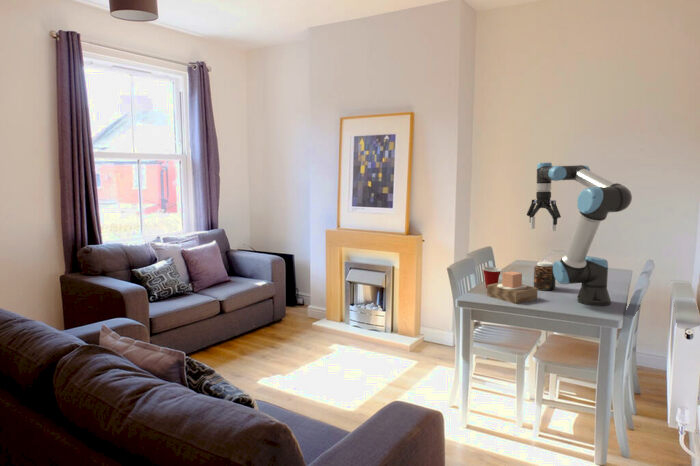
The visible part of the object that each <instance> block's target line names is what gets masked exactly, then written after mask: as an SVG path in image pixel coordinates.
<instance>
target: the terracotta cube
mask: <svg viewBox="0 0 700 466" xmlns="http://www.w3.org/2000/svg"><path fill="white" fill-rule="evenodd" d="M501 276H502V277H501V280H502V281H501V282H502V286H506V287H510V288H516V287H521V286H522V284H523V273H522V272H516V271H506V272H502V275H501Z"/></svg>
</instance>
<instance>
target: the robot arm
mask: <svg viewBox="0 0 700 466" xmlns="http://www.w3.org/2000/svg"><path fill="white" fill-rule="evenodd" d="M552 181H553V182H554V181H555V182H557V181H576V182H578V183H579V184H581V185H583V186H584V187H586V188H585V189H583V190H581V191H580V193H579V195H578V197H577V199H576V200H577V202H576V203H577V204H576V205H577V209H578V211H579V214H580V217H579V221H578V223H577V226H576V228H575V231H574V233H573V236H572V239H571V241H570V243H569V247H568V249H567V252H566V253H564V254H562V256H561V258H560V260H556V261H554V262H553V274H554V277H555V279H556V282H557V283H558V284H561V285H570V284H581V287H580V290H579V292H578V293H577V294H578V295H577V300H576V301H577V302H578V303H580V304H582V305H587V306H595V307H596V306H597V307H599V306H600V307H602V306H609V305H611V298H610V297H611V296H610V294H609V290H608V271H609V262H608V260H607V259H605V258H601V257H598V256H597V257H596V256H590V255H588V253H589V250H590V248H591V245H592V243H593V241H594V238H595V236H596V234H597V232H598V231H597V230H598V228H599V226H600V224H601V222H603V221H605V220H606V219H607V216H608V215H609V213H619V212H622V211H624V210H626V209H627V208H629V206H630V205H631V203H632V199H633V196H632V192H631V191H630V189H629V188H628V187H626V186H625V185H623V184H620V183H617V182H615V183H614V182H612V181H610V180H609V179H606V178H604V177H603V176H600V175H598V174H596V173H594V172H592V171H591V168H589V166H588V165H585V164H584V165H582V164H578V165H553V164H552V162H538V163H537V166H536V187H535V188H536V193H535V194H536V195H535V197H536V199H531V202H530V203H531V204H530V206H529V208H528V210H527V212H526V216H528V217H529V223H530V229H531V230H534V229H536V228H535V227H536V217H535V215H537V213H538V212H539V210H540V209H545V210H547V212H548V213H549V214H550V216H551V223H550V224H551V230H550V231H551V232H555V231H557V225H558V219H560V218H561V217H562V216H561V213H560V211H559V208H558V206H557V201H556V200H555V199H553V200H552V199H551V198H552Z"/></svg>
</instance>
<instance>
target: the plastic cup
mask: <svg viewBox="0 0 700 466" xmlns="http://www.w3.org/2000/svg"><path fill="white" fill-rule="evenodd" d="M482 271H483V277H484V282H485V283H484V284H485V288H486V290H487V285H490V284H495V283H499V278H500V275H501V272H502V271H503V270H502V269H501V268H499V267H495V266H484V267H483V266H482Z"/></svg>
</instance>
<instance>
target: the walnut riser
mask: <svg viewBox="0 0 700 466" xmlns="http://www.w3.org/2000/svg"><path fill="white" fill-rule="evenodd" d="M486 296H487V297H490V298H493V297H494V298H493V299H496V300H497V299H498V300H501V301H504V302H507V303H511V304H514V305H516V304H521V303H525V302H526V301H527V302H531V301H535V299H536V300H538V290H537V288H535V287H534V286H530V285H527V284H526V285H525V284H523V283H522V286H521V287H516V288H510V287H506V286H502V281H500V282H498V283H495V284H490V285H487V289H486Z"/></svg>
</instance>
